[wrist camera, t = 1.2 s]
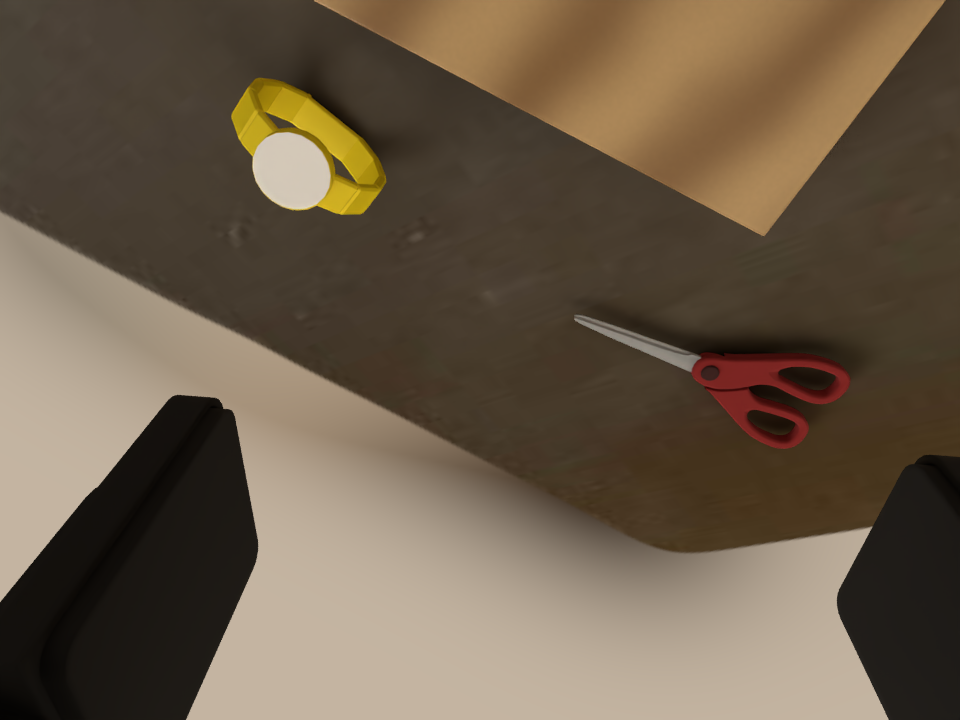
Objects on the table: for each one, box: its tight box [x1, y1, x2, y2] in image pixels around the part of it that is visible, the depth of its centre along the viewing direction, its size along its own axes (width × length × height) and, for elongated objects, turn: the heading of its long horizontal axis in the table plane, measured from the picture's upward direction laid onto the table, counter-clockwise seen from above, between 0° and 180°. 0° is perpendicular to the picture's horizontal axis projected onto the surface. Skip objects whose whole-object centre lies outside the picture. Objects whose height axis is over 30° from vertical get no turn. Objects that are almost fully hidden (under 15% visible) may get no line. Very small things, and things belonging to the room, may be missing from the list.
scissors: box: [574, 314, 850, 449], centre depth 32 cm, size 5×14×1 cm, turn 68°
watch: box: [232, 78, 386, 214], centre depth 25 cm, size 6×3×6 cm, turn 49°
